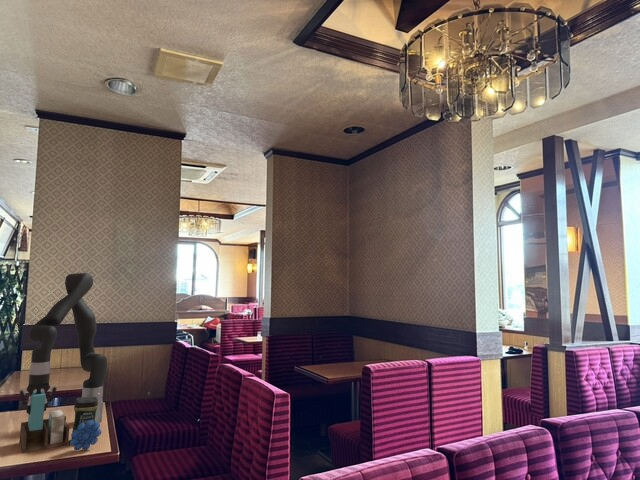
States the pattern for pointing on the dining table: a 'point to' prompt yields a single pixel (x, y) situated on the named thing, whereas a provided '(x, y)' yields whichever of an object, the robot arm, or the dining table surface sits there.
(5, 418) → the dining table surface
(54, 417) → the book rack
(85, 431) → the grapes
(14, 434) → the dining table surface
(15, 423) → the dining table surface
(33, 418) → the teal book
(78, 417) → the coffee jar
